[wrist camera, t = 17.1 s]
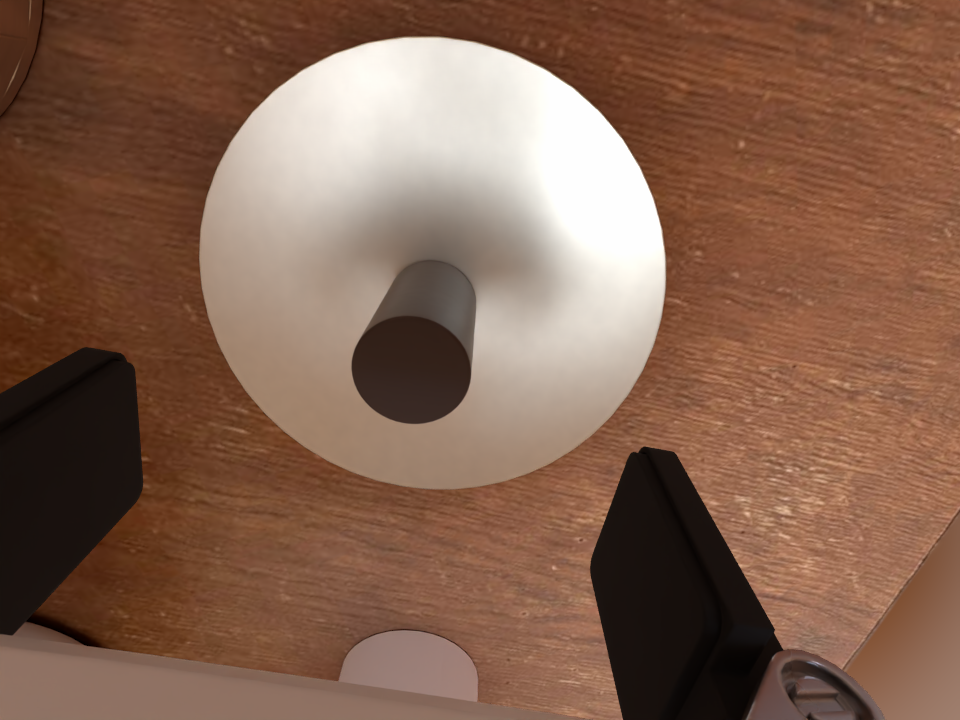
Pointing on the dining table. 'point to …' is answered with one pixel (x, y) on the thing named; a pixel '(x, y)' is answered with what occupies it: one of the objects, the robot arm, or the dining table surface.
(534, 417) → the lid
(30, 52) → the pot
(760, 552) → the dining table surface
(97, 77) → the dining table surface
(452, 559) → the dining table surface
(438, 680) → the cylindrical container
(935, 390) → the dining table surface
